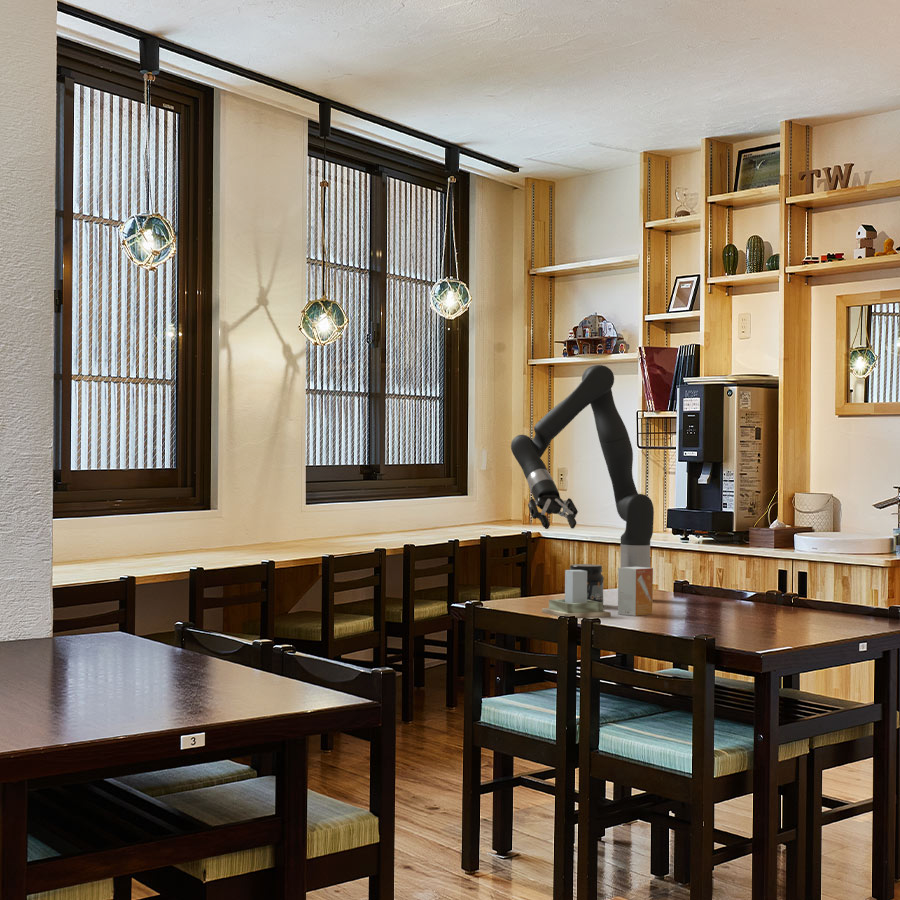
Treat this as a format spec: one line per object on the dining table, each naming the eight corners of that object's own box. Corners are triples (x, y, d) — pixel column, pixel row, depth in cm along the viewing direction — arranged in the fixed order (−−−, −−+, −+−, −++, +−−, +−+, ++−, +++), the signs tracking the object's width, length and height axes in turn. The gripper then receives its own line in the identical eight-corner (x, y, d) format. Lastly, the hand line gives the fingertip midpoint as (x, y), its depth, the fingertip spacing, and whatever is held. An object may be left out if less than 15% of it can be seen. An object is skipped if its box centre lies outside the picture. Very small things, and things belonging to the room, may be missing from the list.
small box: (635, 616, 299) (636, 568, 299) (617, 614, 304) (617, 567, 304) (653, 614, 305) (653, 567, 305) (634, 612, 309) (635, 566, 310)
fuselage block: (579, 609, 306) (579, 569, 306) (586, 611, 302) (587, 571, 302) (564, 609, 304) (565, 570, 304) (572, 611, 300) (572, 571, 300)
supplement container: (561, 604, 327) (561, 564, 327) (591, 603, 331) (592, 563, 332) (579, 608, 317) (579, 566, 318) (610, 607, 322) (610, 566, 322)
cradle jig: (585, 610, 312) (585, 598, 312) (610, 616, 299) (610, 603, 299) (541, 611, 307) (541, 599, 307) (565, 617, 294) (565, 604, 294)
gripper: (525, 478, 324) (543, 518, 313) (567, 478, 330) (586, 517, 319) (517, 496, 329) (535, 536, 318) (559, 495, 335) (578, 535, 324)
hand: (561, 526), depth 319 cm, fingers open, 8 cm apart
